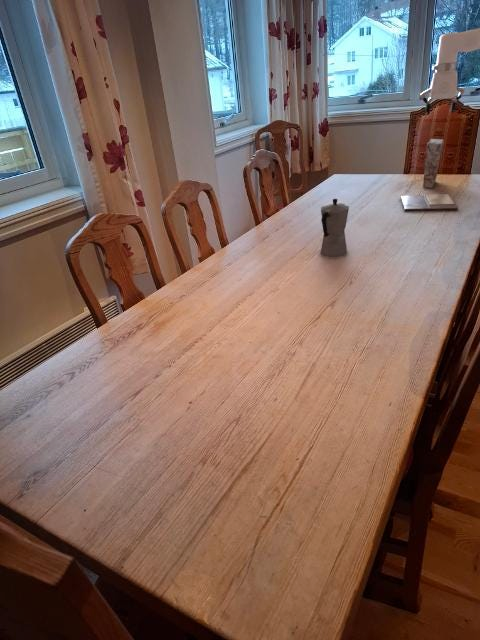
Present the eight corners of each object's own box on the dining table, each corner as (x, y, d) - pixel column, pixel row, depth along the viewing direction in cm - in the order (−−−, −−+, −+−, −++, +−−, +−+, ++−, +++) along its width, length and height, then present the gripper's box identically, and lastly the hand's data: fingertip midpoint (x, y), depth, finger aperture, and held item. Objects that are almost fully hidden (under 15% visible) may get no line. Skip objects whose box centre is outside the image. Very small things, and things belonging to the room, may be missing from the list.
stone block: (437, 188, 201) (444, 142, 191) (421, 188, 204) (427, 143, 193) (437, 181, 212) (443, 137, 201) (422, 181, 214) (427, 138, 204)
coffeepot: (329, 243, 153) (330, 192, 144) (354, 246, 148) (357, 194, 139) (309, 258, 143) (309, 205, 134) (335, 263, 138) (337, 207, 129)
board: (448, 196, 188) (449, 194, 188) (457, 210, 172) (458, 207, 171) (400, 198, 193) (400, 195, 192) (404, 211, 176) (404, 208, 176)
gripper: (425, 70, 178) (419, 115, 186) (470, 66, 174) (463, 112, 183) (422, 70, 184) (417, 113, 193) (466, 66, 180) (458, 111, 189)
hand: (439, 113), depth 188 cm, fingers open, 9 cm apart
